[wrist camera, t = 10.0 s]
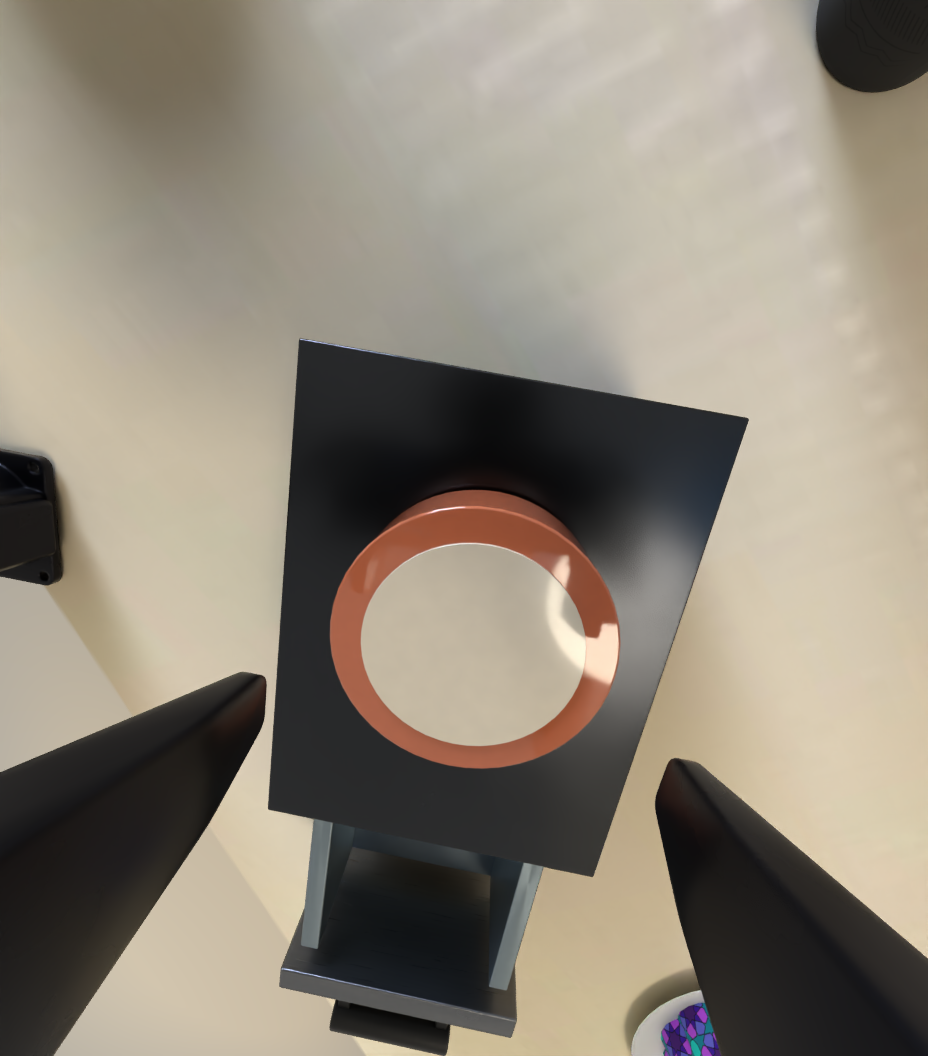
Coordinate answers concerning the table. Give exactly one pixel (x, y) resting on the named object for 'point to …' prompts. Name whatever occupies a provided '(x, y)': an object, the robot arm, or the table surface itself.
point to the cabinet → (512, 468)
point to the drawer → (409, 936)
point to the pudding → (677, 1030)
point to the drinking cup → (874, 41)
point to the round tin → (475, 631)
